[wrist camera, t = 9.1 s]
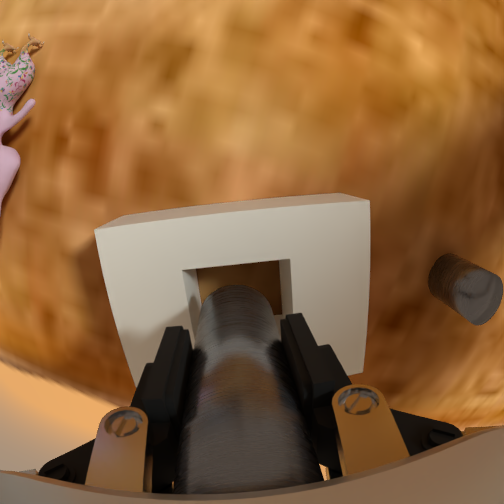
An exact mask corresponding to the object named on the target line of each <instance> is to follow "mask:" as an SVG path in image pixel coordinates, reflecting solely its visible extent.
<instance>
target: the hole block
mask: <svg viewBox="0 0 504 504" xmlns="http://www.w3.org/2000/svg"><path fill="white" fill-rule="evenodd" d="M94 232H95V237H96V243H97V248H98V253H99V258H100V263H101V267H102V272H103V276H104V281H105V285H106V289H107V293H108V297H109V301H110V305H111V309H112V313H113V316H114V320H115V323H116V327H117V330H118V334H119V337H120V340H121V344H122V347H123V350H124V353H125V356H126V360H127V363H128V366H129V369H130V371H131V374H132V377H133V380H134V383H135V386H136V388H137V386H138V383H139V381H140V378H141V375H142V372H143V370H144V367H145V365H146V363H154V360H155V357H156V354H157V351H158V348H159V346H160V343H161V340H162V337H163V334H164V332H165V329H166V327H171V326H182V327H183V329H188V330H189V333H190V338H191V343H192V347H193V349H194V343H195V338H196V332H197V326H198V321H199V315H200V310H201V307H202V304H201V298H200V292H199V286H198V279H197V273H196V268H206V267H215V266H225V265H235V264H244V263H253V262H263V261H272V260H279V271H280V286H281V301H282V314H281V315H274V319H275V322H276V325H277V328H278V332H279V335H280V338H281V327H280V319H285V317H286V315H287V314H295V313H302V314H303V316H304V318H305V320H306V322H307V324H308V326H309V328H310V330H311V332H312V334H313V337H314V339H315V341H316V343H317V345H318V346H320V345H326V344H329V345H330V346H331V347H332V349H333V351H334V352H335V354H336V356H337V358H338V360H339V361H340V363H341V365H342V367H343V369H344V371H345V372H346V374H347V376H348V375H353V374H358V373H362V372H363V367H364V357H365V347H366V336H367V323H368V307H369V286H370V200H366V199H362V198H359V197H355V196H351V195H347V194H343V193H329V194H315V195H302V196H289V197H277V198H266V199H256V200H245V201H236V202H226V203H217V204H208V205H199V206H191V207H183V208H175V209H167V210H160V211H152V212H145V213H138V214H131V215H124V216H121V217H119V218H117V219H115V220H113V221H111V222H109V223H107V224H105V225H103V226H101V227H98V228H96V229H94Z"/></svg>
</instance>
